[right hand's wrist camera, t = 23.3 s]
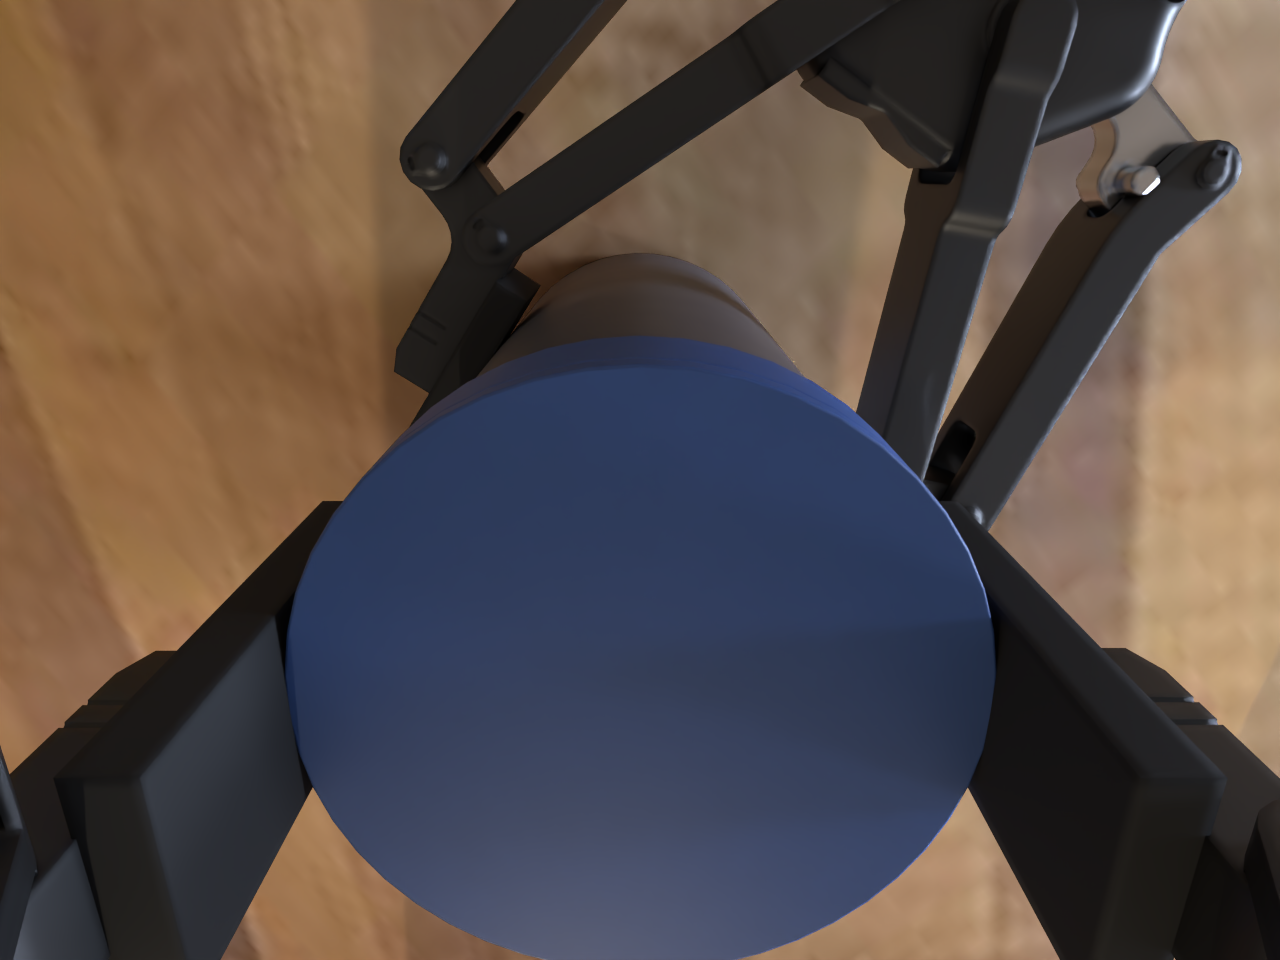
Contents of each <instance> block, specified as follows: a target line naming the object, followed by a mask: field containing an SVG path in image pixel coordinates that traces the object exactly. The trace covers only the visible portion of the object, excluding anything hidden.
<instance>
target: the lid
mask: <svg viewBox="0 0 1280 960" xmlns="http://www.w3.org/2000/svg"><path fill="white" fill-rule="evenodd" d="M995 680H996V655H995V640H994V628H993V624H992V619H991V615H990V610H989V606H988V602H987V597H986V593H985V589H984V586H983V584H982V581H981V579H980V576H979V574H978V571H977V569H976V566H975V564H974V561H973V559H972V556H971V553H970V551H969V549H968V547H967V545H966V544H965V542H964V540H963V539H962V537H961V535H960V534H959V532H958V530H957V529H956V527H955V525H954V523H953V522H952V520H951V518H950V517H949V515H948V513H947V512H946V510H945V509H944V508H943V507H942V505H941V504H940V503H939V502H938V501H937V499H936V498H935V497H934V496H933V494H932V493H931V492H930V491H929V490H928V488H927V487H926V486H925V485H924V483H923V482H922V481H921V480H920V479H919V477H918V476H917V475H916V474H915V473H914V472H913V471H912V470H911V469H910V468H909V467H908V465H907V464H906V463H905V462H904V461H903V460H902V459H901V458H900V457H899V455H898V454H897V453H896V452H895V451H894V450H893V449H892V448H891V447H890V446H889V445H888V444H887V442H886V441H885V440H884V439H883V438H882V437H881V436H880V435H879V434H878V433H877V432H876V431H875V430H874V429H873V428H872V427H871V426H869V425H868V424H867V423H866V422H865V421H864V420H863V419H862V418H861V417H860V416H858V415H857V414H856V413H855V412H854V411H853V410H852V409H851V408H850V407H849V406H848V405H846V404H845V403H843V402H842V401H840V400H839V399H837V398H836V397H834V396H833V395H831V394H830V393H829V392H827V391H826V390H824V389H823V388H821V387H820V386H818V385H817V384H815V383H814V382H812V381H811V380H809V379H807V378H805V377H803V376H801V375H798V374H796V373H794V372H792V371H790V370H788V369H786V368H784V367H782V366H780V365H778V364H776V363H774V362H772V361H769V360H766V359H763V358H760V357H757V356H754V355H751V354H748V353H746V352H743V351H740V350H737V349H734V348H731V347H726V346H721V345H716V344H711V343H706V342H701V341H696V340H690V339H685V338H670V337H653V336H626V337H612V338H598V339H590V340H585V341H580V342H575V343H570V344H565V345H560V346H555V347H550V348H547V349H544V350H541V351H538V352H535V353H532V354H529V355H527V356H524V357H521V358H518V359H515V360H512V361H509V362H506V363H504V364H502V365H500V366H498V367H496V368H494V369H492V370H491V371H489V372H487V373H485V374H483V375H481V376H479V377H477V378H475V379H473V380H471V381H469V382H467V383H465V384H464V385H462V386H461V387H460V388H458V389H457V390H455V391H454V392H452V393H451V394H450V395H448V396H447V397H445V398H444V399H442V400H441V401H439V402H438V403H437V404H435V405H434V406H432V407H431V408H430V409H429V410H428V411H427V412H426V413H425V414H423V415H422V416H421V417H420V418H419V419H418V420H417V421H416V422H415V423H414V424H413V425H412V426H411V427H409V428H408V429H407V430H406V431H405V432H404V433H403V434H402V435H401V436H400V437H399V438H398V439H397V440H396V441H395V442H394V444H393V445H392V446H391V447H390V448H389V449H388V450H387V451H386V452H385V453H384V454H383V455H382V457H381V458H380V459H379V460H378V461H377V462H376V463H375V464H374V465H373V466H372V468H371V469H370V470H369V471H368V472H367V473H366V474H365V475H364V476H363V477H362V478H361V480H360V481H359V482H358V483H357V485H356V486H355V487H354V488H353V490H352V491H351V492H350V493H349V495H348V496H347V497H346V498H345V500H344V501H343V502H342V503H341V505H340V506H339V507H338V508H337V510H336V511H335V512H334V513H333V515H332V517H331V518H330V520H329V522H328V523H327V525H326V527H325V529H324V530H323V532H322V534H321V536H320V537H319V539H318V541H317V542H316V544H315V546H314V548H313V549H312V551H311V553H310V556H309V558H308V561H307V564H306V566H305V569H304V571H303V574H302V576H301V579H300V582H299V584H298V587H297V589H296V592H295V597H294V601H293V606H292V611H291V615H290V620H289V625H288V629H287V638H286V656H285V682H286V689H287V695H288V701H289V708H290V714H291V719H292V725H293V730H294V735H295V740H296V745H297V749H298V752H299V755H300V757H301V759H302V762H303V764H304V767H305V769H306V771H307V774H308V776H309V779H310V781H311V783H312V786H313V788H314V790H315V791H316V793H317V795H318V796H319V798H320V800H321V801H322V803H323V805H324V807H325V808H326V810H327V812H328V813H329V815H330V817H331V818H332V820H333V822H334V823H335V824H336V825H337V827H338V828H339V829H340V831H341V832H342V833H343V834H344V836H345V837H346V838H347V839H348V841H349V842H350V843H351V845H352V846H353V847H354V848H355V850H356V851H357V852H358V853H359V854H360V855H361V856H362V857H363V858H364V859H365V860H366V861H367V862H368V863H369V864H370V865H371V866H372V867H373V868H374V869H375V870H376V871H377V872H378V873H379V874H380V875H381V876H382V877H383V878H384V879H385V880H387V881H388V882H389V883H390V884H392V885H393V886H394V887H396V888H397V889H398V890H399V891H401V892H402V893H403V894H404V895H406V896H407V897H408V898H410V899H411V900H412V901H413V902H415V903H416V904H418V905H419V906H421V907H423V908H424V909H426V910H427V911H429V912H431V913H432V914H434V915H436V916H437V917H439V918H441V919H442V920H444V921H445V922H447V923H449V924H451V925H453V926H455V927H457V928H459V929H461V930H463V931H465V932H467V933H469V934H472V935H474V936H476V937H478V938H480V939H482V940H484V941H487V942H490V943H492V944H495V945H498V946H501V947H504V948H506V949H509V950H512V951H515V952H518V953H521V954H524V955H528V956H532V957H536V958H540V959H544V960H737V959H741V958H745V957H749V956H753V955H757V954H761V953H763V952H766V951H769V950H772V949H774V948H777V947H780V946H783V945H786V944H788V943H791V942H794V941H797V940H799V939H801V938H803V937H805V936H807V935H809V934H811V933H814V932H816V931H818V930H820V929H822V928H824V927H826V926H828V925H830V924H832V923H834V922H836V921H837V920H839V919H841V918H842V917H844V916H845V915H847V914H849V913H850V912H852V911H853V910H855V909H857V908H858V907H860V906H861V905H863V904H865V903H866V902H868V901H869V900H870V899H871V898H873V897H874V896H875V895H876V894H878V893H879V892H880V891H882V890H883V889H884V888H885V887H887V886H888V885H889V884H890V883H892V882H893V881H894V880H895V879H897V878H898V877H899V876H900V875H901V874H902V873H903V872H904V871H905V870H906V869H907V868H908V867H909V866H910V865H911V864H912V863H913V862H914V861H915V860H916V859H917V858H918V857H919V856H920V855H921V854H922V853H923V852H924V851H925V850H926V848H927V847H928V846H929V845H930V843H931V842H932V841H933V839H934V838H935V837H936V836H937V834H938V833H939V832H940V830H941V829H942V828H943V826H944V825H945V824H946V823H947V821H948V820H949V819H950V817H951V815H952V813H953V812H954V810H955V808H956V807H957V805H958V803H959V801H960V800H961V798H962V796H963V794H964V793H965V791H966V789H967V788H968V786H969V784H970V781H971V779H972V776H973V774H974V771H975V769H976V766H977V764H978V761H979V759H980V757H981V754H982V752H983V749H984V744H985V738H986V733H987V728H988V722H989V717H990V711H991V705H992V699H993V693H994V686H995Z"/></svg>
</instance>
